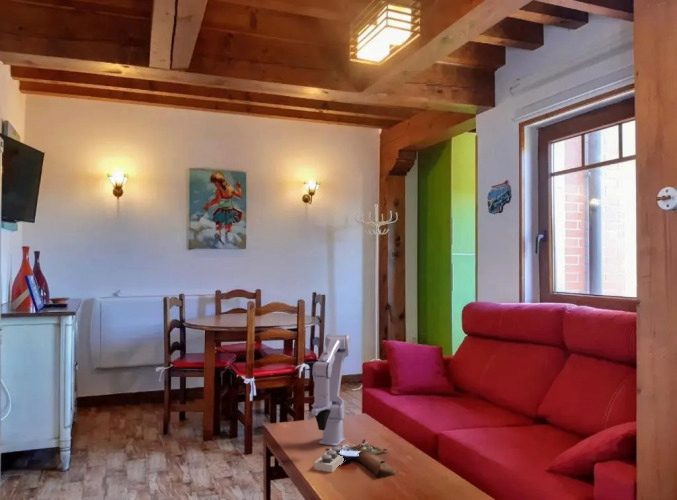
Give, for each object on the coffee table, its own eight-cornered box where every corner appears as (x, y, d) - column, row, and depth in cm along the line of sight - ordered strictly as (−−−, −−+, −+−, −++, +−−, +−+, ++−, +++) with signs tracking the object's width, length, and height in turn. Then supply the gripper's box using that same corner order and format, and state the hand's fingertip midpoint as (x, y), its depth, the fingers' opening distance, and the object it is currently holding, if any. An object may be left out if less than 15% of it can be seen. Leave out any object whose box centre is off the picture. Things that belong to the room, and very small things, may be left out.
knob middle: (328, 459, 200) (328, 449, 200) (338, 461, 198) (338, 451, 198) (325, 463, 196) (325, 453, 196) (334, 464, 195) (334, 454, 195)
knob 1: (324, 463, 195) (324, 453, 196) (333, 465, 194) (333, 455, 194) (319, 467, 192) (319, 457, 192) (329, 468, 191) (329, 458, 191)
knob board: (330, 455, 206) (330, 448, 206) (348, 457, 203) (348, 451, 203) (314, 469, 192) (314, 462, 192) (332, 472, 189) (332, 465, 189)
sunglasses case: (400, 474, 187) (391, 459, 186) (384, 487, 185) (375, 472, 184) (376, 457, 204) (368, 442, 203) (361, 469, 201) (353, 454, 200)
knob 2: (333, 455, 204) (333, 445, 204) (342, 456, 202) (342, 447, 202) (329, 458, 200) (329, 449, 201) (338, 460, 199) (338, 450, 199)
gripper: (320, 388, 215) (320, 423, 215) (304, 397, 202) (304, 433, 201) (336, 390, 212) (336, 425, 212) (321, 399, 199) (321, 436, 199)
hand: (321, 429), depth 207 cm, fingers closed
